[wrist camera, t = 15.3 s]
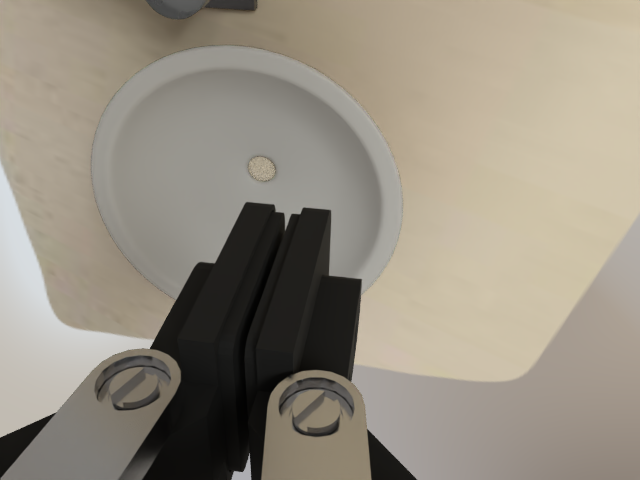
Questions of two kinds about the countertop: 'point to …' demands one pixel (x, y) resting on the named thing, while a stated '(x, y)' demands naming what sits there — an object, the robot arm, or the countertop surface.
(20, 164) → the countertop surface
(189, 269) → the round sink basin
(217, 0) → the dark grey faucet base
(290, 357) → the robot arm
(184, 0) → the rail
